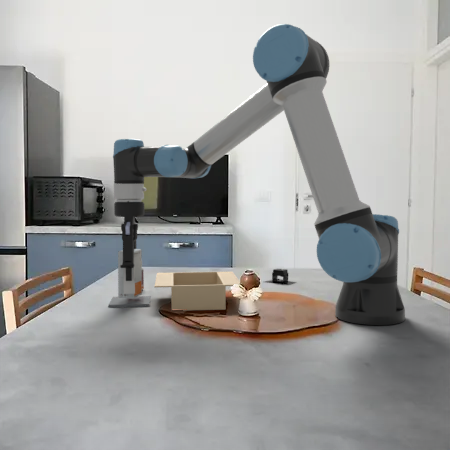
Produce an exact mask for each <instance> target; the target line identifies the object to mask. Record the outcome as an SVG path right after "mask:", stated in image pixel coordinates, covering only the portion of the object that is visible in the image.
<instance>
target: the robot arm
mask: <svg viewBox="0 0 450 450" xmlns="http://www.w3.org/2000/svg"><path fill="white" fill-rule="evenodd" d="M252 62H253V63H252V64H253V68H254V69H255V72H256V73H257V74H258V75H259V77H260V78H261V79H262V80H264V81H266V83H265V84H264V85H263V86H262V87H260V88H259V89H258V90H257V91H255V93H253V94H252V95H250V96H249V97H248V98H246V100H244V101H243V102H242V103H240V104H239V105H238V106H237V107H235V108H234V109H233V110H232V111H231V112H229V113H228V114H226V116H224V117H223V118H222V119H220V121H218V122H216V124H214V125H213V126H212V127H210V128H209V129H208V130H206V131H205V132H204V133H203V134H202V135H201V136H199V137H198V138H196V140H194V141H193V142H192V143H191V144H189V145H188V146H186V148H183V147H182V146H180V145H178V144H177V145H173V144H165V145H156V146H155V145H154V146H145V144H144V141H143V140H142V139H140V138H139V139H137V138H121V139H120V138H119V139H116V140H115V141H114V143H113V155H112V158H113V161H112V162H113V179H114V180H113V199H114V200H115V202H114V204H113V207H114V209H113V211H114V212H113V213H114V216H115V217H118V218H121V217H122V218H123V223H121V224H120V229H121V240H122V250H123V263H122V265H120V267H121V268H123V278H124V294H135V267H134V249H138V248H137V239H138V230H139V223H137V222H136V218H138V217H140V218H141V217H143V216H145V202H143V200H145V192H146V191H147V188H146V187H145V185H144V184H145V178H179V179H180V178H181V179H182V178H183V179H185V178H186V179H193V180H194V179H195V180H196V179H199V178H204V177H205V176H207V175H208V174H209V172H210V171H211V168H212V165H213V164H214V163H216V162H217V161H218V160H220V159H221V158H223V157H225V155H227V154H228V153H229V152H230V151H232V150H234V148H236V147H237V146H239V145H240V144H241V143H243V142H244V141H245V140H246V139H248V138H249V137H251V136H252V135H253V134H254V133H256V132H257V131H258V130H260V129H261V128H262V127H264V126H266V124H268V123H269V122H270V121H272V120H273V119H274V118H276V117H277V116H279V115H280V114H281V113H282V112H284V114H285V116H286V120H287V123H288V125H289V128H290V132H291V135H292V138H293V141H294V145H295V148H296V150H297V153H298V156H299V158H300V163H301V165H302V168H303V170H304V171H303V172H304V174H305V176H306V180H307V183H308V186H309V189H310V192H311V195H312V198H313V202H314V205H315V207H316V210H317V217H316V220H315V221H314V223H313V225H314V227H315V231H316V234H317V236H318V241H317V244H316V258H317V261H318V264H319V265H320V267H321V268H322V270H323V271H324V272H325V274H326V275H328V276H329V277H331V278H333V279H334V280H336V281H339V282H342V283H343V284H342V287H341V288H340V289H341V290H340V292H339V295H338V298H337V301H336V304H335V309H334V310H335V312H334V313H335V315H336V316H335V317H336V318H337V317H338V318H337V319H339V320H341V321H343V322H348V323H353V324H359V325H365V326H366V325H367V326H368V325H369V326H389V325H397V324H401V323H403V322H405V320H406V309H405V306H404V302H403V298H402V296H401V292H400V289H399V286H398V264H399V263H398V261H399V259H398V258H399V234H400V229H399V221H398V219H397V218H396V217H395V216H392V215H388V214H374V213H373V210H372V209H371V206H370V205H369V204H366V203H364V202H362V200H360V197H359V194H358V191H357V189H356V186H355V183H354V180H353V178H352V174H351V172H350V171H351V170H350V168H349V166H348V162H347V160H346V157H345V154H344V150H343V147H342V145H341V142H340V140H339V136H338V133H337V131H336V128H335V124H334V122H333V119H332V115H331V113H330V110H329V107H328V104H327V102H326V98H325V96H324V93H323V90H324V88H325V87H326V84H327V77H328V75H329V72H330V59H329V55H328V53H327V50H326V49H325V48H324V46H323V45H322V44H321V43H319V42H318V41H317V40H315V39H313V38H312V37H310V36H309V35H308V34H306V32H305V31H304V30H303V29H301V27H297V26H294V25H293V24H289V23H288V24H287V23H281V24H276V25H273V26H272V27H269V28H268V29H267V30H266V31H264V32H263V33H262V34H261V36H259V38H258V40H257V42H256V45H255V46H254V48H253V53H252Z"/></svg>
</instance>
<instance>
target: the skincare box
mask: <svg viewBox="0 0 450 450" xmlns="http://www.w3.org/2000/svg"><path fill="white" fill-rule="evenodd" d="M142 252H143V251H142V249H141V248H137V249H134V267H135V294H124V278H123V268H121V267H120V265H122V263H123V249H122V250H118V252H117V260H118V261H117V264H118V265H117V266H118V267H117V271H118V272H117V274H118V275H117V276H118V278H117V281H118V283H117V287H118V289H117V291H118V293H117V294H118V296H117V297H118V298H131V299H133V298H135V297H137V296H142V295H143V294H142V293H143V292H142V291H143V290H142V268H143V267H142V266H143V260H142V257H143V256H142Z"/></svg>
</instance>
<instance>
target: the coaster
mask: <svg viewBox="0 0 450 450" xmlns="http://www.w3.org/2000/svg"><path fill="white" fill-rule="evenodd" d="M151 301H152V296H151V295H139V296H137V297H135V298H133V299H131V298H118V296H112V298H111V300H110V301H109V303H108V306H107V307H108V308H129V307H131V308H134V307H136V308H137V307H141V308H142V307H150V305H151Z"/></svg>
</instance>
